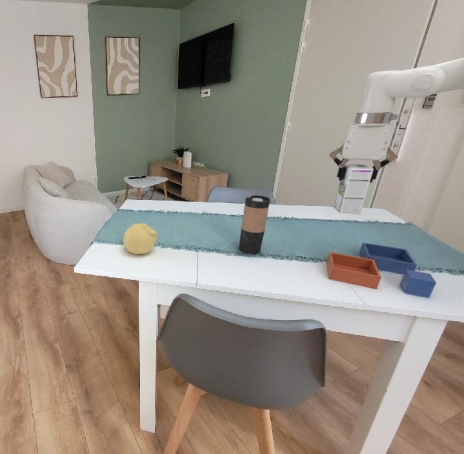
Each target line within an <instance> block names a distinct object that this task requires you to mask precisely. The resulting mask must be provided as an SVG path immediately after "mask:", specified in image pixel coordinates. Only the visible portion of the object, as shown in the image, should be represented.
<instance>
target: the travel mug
mask: <svg viewBox="0 0 464 454" xmlns="http://www.w3.org/2000/svg"><path fill="white" fill-rule="evenodd" d="M270 201H271V198H269V197H267V196H264V195H257V194H254V195H250V196H246V197H245V201H244V207H243V214H242V219H241V225H240V235H239V244H238V249H239V251H240V252H242V253H244V254H247V255H248V254H249V255H257V254H259V253H261V250H262V249H261V248H262V246H263V240H264V236H265V232H266V227H267V219H268V214H269V209H270V203H271V202H270Z"/></svg>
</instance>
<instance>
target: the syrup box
mask: <svg viewBox="0 0 464 454" xmlns="http://www.w3.org/2000/svg"><path fill="white" fill-rule="evenodd" d="M372 172H373V167H371V166H369V165H367V164H359V163H358V164H357V163H356V164H355V163H354V164H351V163H350V164H346V165H345V172H344V176H343V180H341V181H339V185H338V189H337V192H336V197H335V200H334V203H333V208H334V210H336V211H337V212H338V213H340V214H351V215H361V214H362V209H363V207H364V204H365V200H366V196H367V193H368V189H369V187H370V184H371V183H370V179H371V176H372Z"/></svg>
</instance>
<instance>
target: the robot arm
mask: <svg viewBox="0 0 464 454" xmlns="http://www.w3.org/2000/svg"><path fill="white" fill-rule="evenodd" d="M461 89H464V57H460V58H456V59H453V60H449V61H445V62H439V63H437V64H432V65H425V66H424V65H423V66H420V67H414V68H409V69H408V68H407V69H403V70H400V69H390V70H380V71H373V72H371V73H370V74H368V75H367V76H366V77H365V81H364V85H363V89H362V92H361V96H360V100H359V104H358V106H357V110H356V115H355V119H354V123H351V124H350V125H349V127H348V128H347V131H346V133H345V136H344V140H343V143H342V145H341V146H339V147H338V148H336V149H335V150H333V151H331V152H330V153H329V154H328V155H329V158H330V159H331V160H332V161H333V162H334V163H335V164H336V166H338V170H337V174H336V178H338V181H339V182H340V181H341V180H343V176H344V172H345V165H347V164H348V162H350V161H351V160H358V161H372V164H373V166H372V168H373V172H372V176H371V179H370V183H369V184H372V183H373V181H374V180H376V179H377V176H378V174H379V170H381V169H382V168H384V167H385V166H387V165H388V164H390V163H392V162H393V161H395V160H397V159H398V158H399V156H398V155H397V154H396V153H395V152H394V151H393V150H392V149H391V148H390V147H389V144H390V140H391V133H392V124H391V123H390V122H391V121H394V120H398V118H399V114H395V113H394V112H393V111H394V107H395V104H396V101H397V99H412V100H418V99H419V100H420V99H424V98H428V97H430V96H432V95H436V94H440V93H445V92H450V91H456V90H461ZM338 154H340V156H341V158H342V159H339V158H338V156H337V155H338ZM386 155H387V156H388V157H387V158H386ZM380 160H381V161H380Z"/></svg>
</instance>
